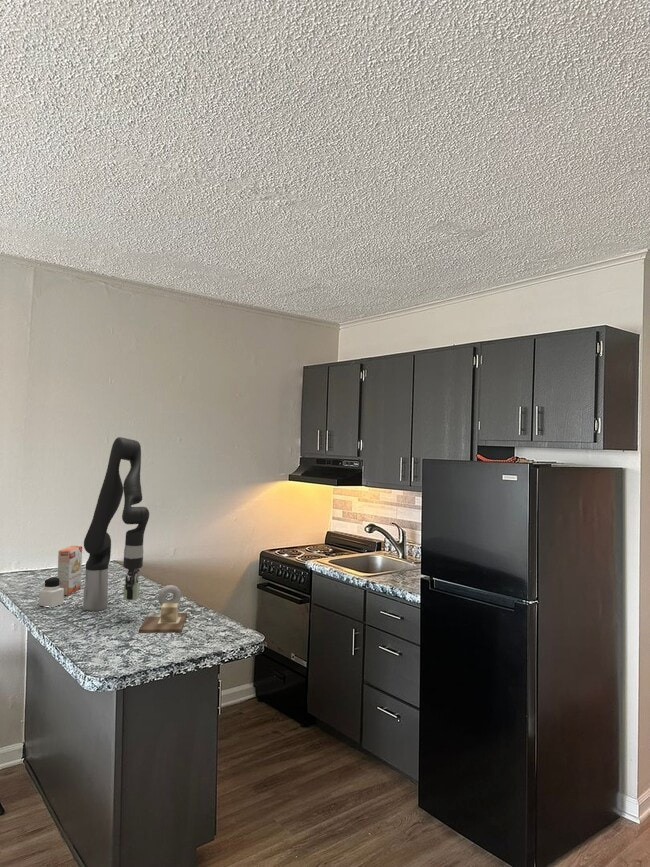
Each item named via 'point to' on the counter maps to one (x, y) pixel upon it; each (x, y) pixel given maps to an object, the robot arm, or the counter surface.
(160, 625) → the baseplate
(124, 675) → the counter surface
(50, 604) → the medicine bottle
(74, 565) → the cracker box
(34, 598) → the counter surface
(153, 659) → the counter surface
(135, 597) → the sage block
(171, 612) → the maple block
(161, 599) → the donut
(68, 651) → the counter surface
